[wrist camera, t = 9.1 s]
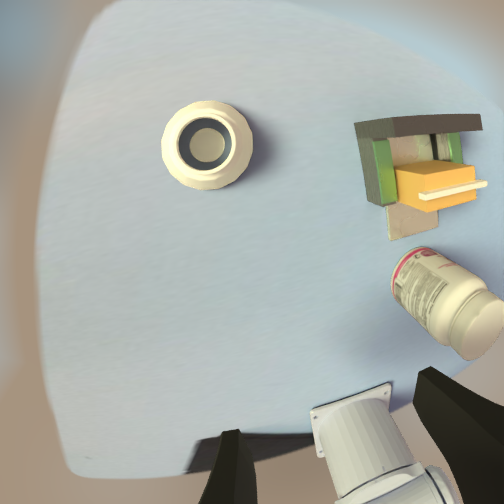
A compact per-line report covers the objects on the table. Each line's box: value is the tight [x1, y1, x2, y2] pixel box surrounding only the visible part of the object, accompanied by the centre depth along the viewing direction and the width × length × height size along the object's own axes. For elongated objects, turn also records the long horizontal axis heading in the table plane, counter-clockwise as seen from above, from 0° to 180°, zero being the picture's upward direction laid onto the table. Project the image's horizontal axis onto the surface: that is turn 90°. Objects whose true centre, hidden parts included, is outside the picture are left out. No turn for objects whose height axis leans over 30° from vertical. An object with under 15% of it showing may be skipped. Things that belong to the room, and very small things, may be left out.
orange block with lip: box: [394, 160, 487, 213], centre depth 15 cm, size 2×5×5 cm, turn 103°
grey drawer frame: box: [354, 114, 483, 241], centre depth 15 cm, size 8×7×4 cm
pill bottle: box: [391, 247, 504, 361], centre depth 16 cm, size 5×5×8 cm
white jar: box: [161, 100, 253, 190], centre depth 15 cm, size 5×3×5 cm
